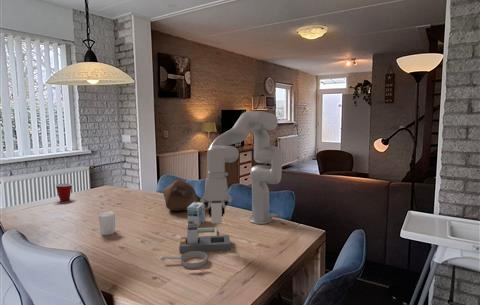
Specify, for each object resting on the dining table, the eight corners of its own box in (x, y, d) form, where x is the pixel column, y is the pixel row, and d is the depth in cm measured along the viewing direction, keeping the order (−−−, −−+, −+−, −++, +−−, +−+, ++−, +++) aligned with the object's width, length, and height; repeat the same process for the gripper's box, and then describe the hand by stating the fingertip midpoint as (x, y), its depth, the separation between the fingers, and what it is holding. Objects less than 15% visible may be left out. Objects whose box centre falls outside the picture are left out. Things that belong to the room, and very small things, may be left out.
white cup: (119, 230, 163) (118, 212, 161) (108, 236, 155) (107, 217, 154) (107, 229, 165) (106, 211, 164) (96, 234, 158) (94, 215, 156)
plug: (221, 219, 141) (221, 198, 140) (221, 222, 136) (221, 200, 135) (211, 220, 140) (211, 198, 139) (211, 223, 136) (211, 201, 135)
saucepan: (206, 271, 120) (206, 261, 120) (159, 272, 119) (159, 263, 119) (208, 258, 131) (208, 249, 130) (165, 259, 130) (165, 250, 130)
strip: (229, 243, 146) (228, 233, 145) (230, 252, 136) (230, 242, 135) (181, 245, 143) (181, 236, 143) (179, 255, 134) (179, 245, 133)
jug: (157, 213, 190) (205, 222, 189) (159, 185, 184) (209, 193, 183) (167, 198, 209) (210, 206, 209) (169, 172, 203) (214, 179, 202)
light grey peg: (198, 245, 141) (197, 223, 140) (197, 249, 137) (197, 227, 136) (188, 245, 141) (187, 224, 140) (187, 249, 136) (186, 228, 135)
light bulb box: (199, 227, 167) (198, 207, 166) (187, 226, 168) (186, 207, 167) (205, 220, 177) (204, 202, 176) (194, 219, 179) (193, 201, 177)
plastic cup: (76, 200, 222) (75, 183, 221) (59, 203, 214) (58, 186, 213) (70, 197, 230) (69, 181, 228) (54, 200, 222) (52, 184, 220)
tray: (216, 232, 159) (216, 227, 159) (217, 240, 149) (216, 235, 148) (194, 233, 158) (194, 228, 158) (193, 241, 147) (193, 236, 147)
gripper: (234, 173, 141) (234, 212, 143) (196, 174, 139) (197, 214, 141) (236, 176, 133) (236, 217, 135) (196, 177, 131) (197, 219, 133)
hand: (216, 215), depth 138 cm, fingers closed on plug, 4 cm apart
